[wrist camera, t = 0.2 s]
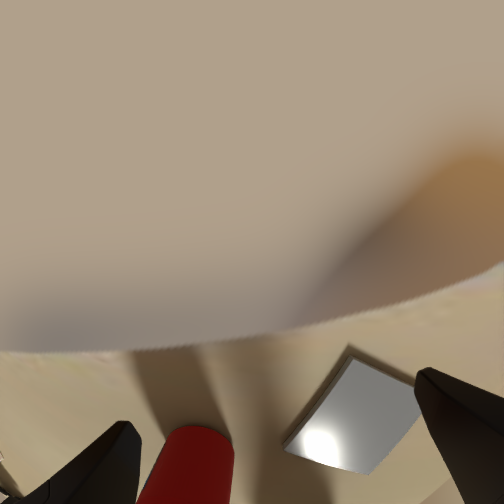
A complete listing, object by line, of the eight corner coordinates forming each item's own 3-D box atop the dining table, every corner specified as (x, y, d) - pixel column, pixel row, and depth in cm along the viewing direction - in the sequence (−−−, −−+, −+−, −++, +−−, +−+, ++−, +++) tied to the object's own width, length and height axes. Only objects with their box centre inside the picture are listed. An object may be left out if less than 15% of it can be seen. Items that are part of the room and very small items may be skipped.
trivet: (366, 469, 23) (368, 475, 22) (282, 444, 23) (283, 450, 22) (428, 392, 23) (433, 396, 22) (349, 354, 23) (353, 358, 22)
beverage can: (154, 436, 24) (110, 517, 12) (203, 409, 23) (171, 503, 11) (199, 476, 24) (177, 559, 12) (249, 453, 23) (245, 547, 11)
